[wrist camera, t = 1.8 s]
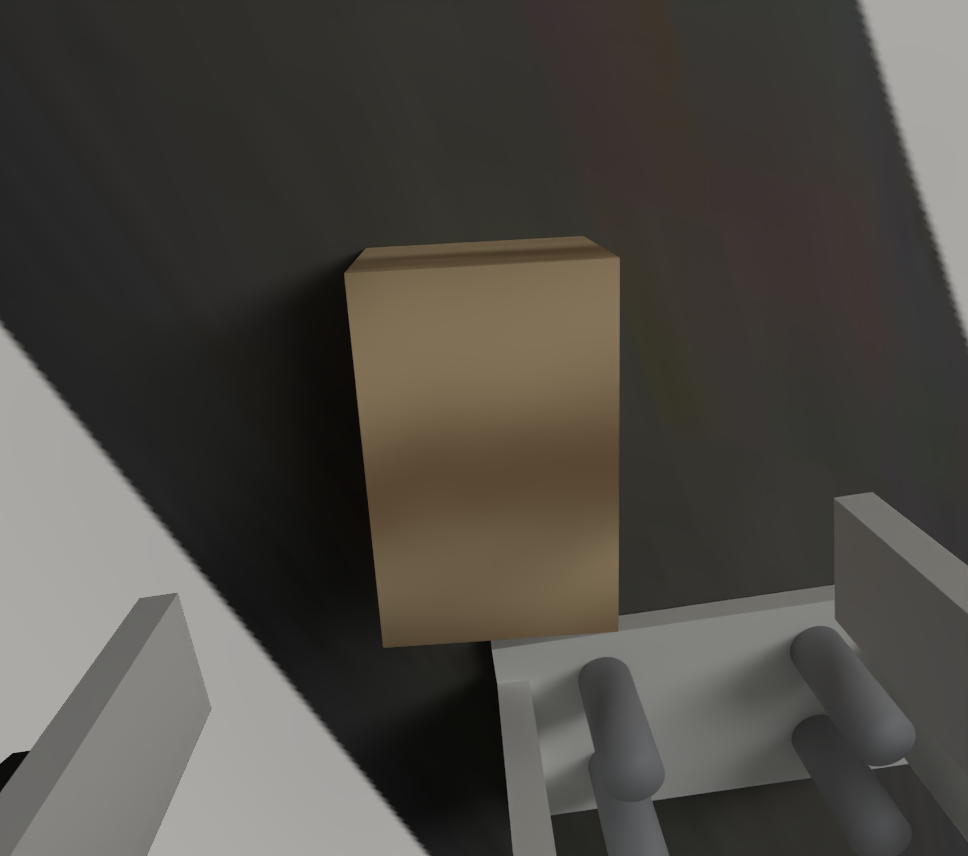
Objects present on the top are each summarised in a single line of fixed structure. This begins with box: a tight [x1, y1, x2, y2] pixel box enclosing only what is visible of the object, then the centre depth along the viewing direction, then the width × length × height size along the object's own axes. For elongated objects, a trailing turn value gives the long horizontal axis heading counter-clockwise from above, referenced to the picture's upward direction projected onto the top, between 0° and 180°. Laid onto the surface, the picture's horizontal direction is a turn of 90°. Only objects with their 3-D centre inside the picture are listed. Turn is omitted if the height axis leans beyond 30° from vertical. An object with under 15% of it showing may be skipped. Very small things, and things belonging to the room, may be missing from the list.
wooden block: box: [344, 236, 620, 648], centre depth 25 cm, size 11×7×6 cm, turn 3°
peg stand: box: [491, 585, 968, 856], centre depth 28 cm, size 8×16×9 cm, turn 98°
